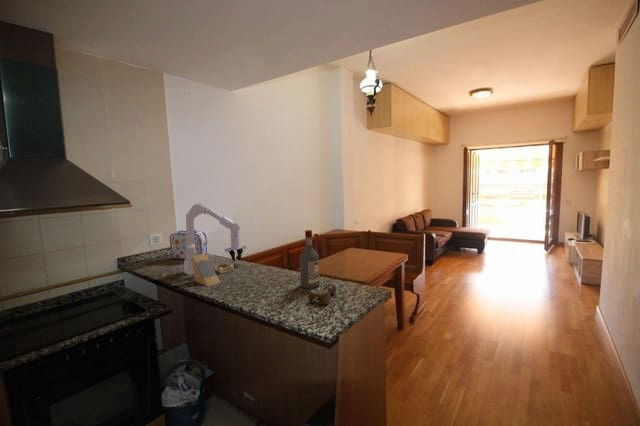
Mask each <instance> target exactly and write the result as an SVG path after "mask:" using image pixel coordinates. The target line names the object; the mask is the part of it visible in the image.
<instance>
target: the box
mask: <svg viewBox="0 0 640 426" xmlns="http://www.w3.org/2000/svg"><path fill="white" fill-rule="evenodd" d="M214 268H215V269H214V271H216V272H218V273H219V274H220V275H221V274H222V275H224V274H228V273H232V272H235V267H234V265H232V264H229V263H226V262H225V263H222V264H218V265H217V264H216V265H214Z"/></svg>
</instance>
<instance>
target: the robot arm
mask: <svg viewBox="0 0 640 426" xmlns="http://www.w3.org/2000/svg"><path fill="white" fill-rule="evenodd" d="M202 214H203V215H209V216H211V217H212V218H215V219H216V220H218V222H219V224H221V226H223V227H225V228H227V229H229V230H230V247H227V248H224V252H225V253H228V254H229V255H230V257H231V260H232V262H233V263H236V262H235V261H236V256H237V261H241V257H242V254H243V252H244V249H245V250H246V249H247V245H241V242H240V241H241V240H240V230H241V229H240V228H241V227H240V224H238V223H237V222H235V220H232V219H230V217H229V216H227V215H226V216H225V215H223V216H222V215H221V214H218V212H216V211H215V210H213V209H212V208H210V207H208V206H205V205H204V204H202V203H195V204H193V205H192V206H191V208H190V209H189V210H188V212H187V214H186V215H185V224H186V225H185V227H186V230H185V231H186V233H187V249H186V258H185V259H184V261H183V265H184V266H183V268H184V270H183V271H182V272H183V273H184V274H186V275H188V276H190V275H194V270H193V259H192V256H195V255H197V254H196V249H195V244H194V230H195V225H194V224H195V223H194V222H195V219H196V218H197V217H198V216H200V215H202ZM235 251H236V252H235ZM236 253H237V254H236Z"/></svg>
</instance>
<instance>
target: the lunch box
mask: <svg viewBox="0 0 640 426" xmlns="http://www.w3.org/2000/svg"><path fill="white" fill-rule="evenodd" d="M208 243H209V241H208V238H207V235H206V233H205V232H203V231H200V230H197V229H194V244H195V249H196V254H197V255H200V254H205V253H206V255H207V254H208V247H207V246H208ZM169 244H170V245H169V246H170V254H171V257H173V259H178V260H185V258H186V249H187V233H186V230H179V231H176V232H173V233H171V234H170V235H169Z"/></svg>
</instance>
